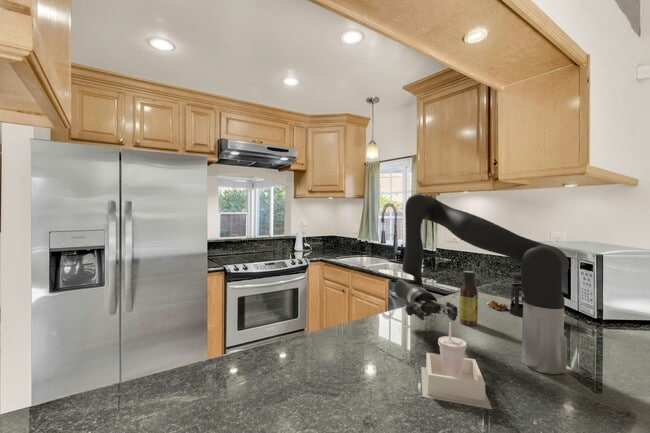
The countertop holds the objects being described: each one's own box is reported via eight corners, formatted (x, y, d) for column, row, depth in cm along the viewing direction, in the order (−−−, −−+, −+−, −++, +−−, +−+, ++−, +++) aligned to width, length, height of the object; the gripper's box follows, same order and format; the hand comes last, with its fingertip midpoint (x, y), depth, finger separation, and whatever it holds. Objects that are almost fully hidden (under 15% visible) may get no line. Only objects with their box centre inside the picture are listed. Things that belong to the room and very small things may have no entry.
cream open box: (474, 377, 77) (475, 359, 77) (484, 404, 66) (485, 383, 66) (426, 369, 80) (426, 352, 80) (427, 394, 69) (428, 374, 69)
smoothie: (442, 371, 78) (443, 316, 77) (469, 380, 73) (470, 323, 73) (433, 382, 73) (434, 323, 72) (461, 392, 69) (463, 330, 68)
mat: (478, 377, 78) (478, 375, 78) (492, 411, 64) (492, 409, 64) (421, 368, 82) (421, 366, 82) (422, 399, 68) (422, 396, 68)
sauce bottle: (479, 327, 113) (481, 273, 113) (461, 325, 115) (462, 272, 114) (474, 321, 120) (475, 270, 120) (457, 319, 121) (458, 269, 121)
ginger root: (494, 304, 146) (494, 296, 146) (512, 312, 134) (512, 303, 134) (480, 304, 145) (481, 296, 145) (498, 312, 133) (498, 304, 133)
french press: (503, 311, 132) (504, 258, 132) (516, 309, 136) (517, 257, 136) (532, 320, 122) (533, 263, 121) (545, 317, 126) (546, 261, 126)
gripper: (399, 288, 100) (412, 302, 84) (443, 289, 100) (465, 303, 83) (399, 311, 100) (412, 330, 84) (443, 312, 100) (464, 331, 83)
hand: (438, 316), depth 84 cm, fingers open, 8 cm apart
